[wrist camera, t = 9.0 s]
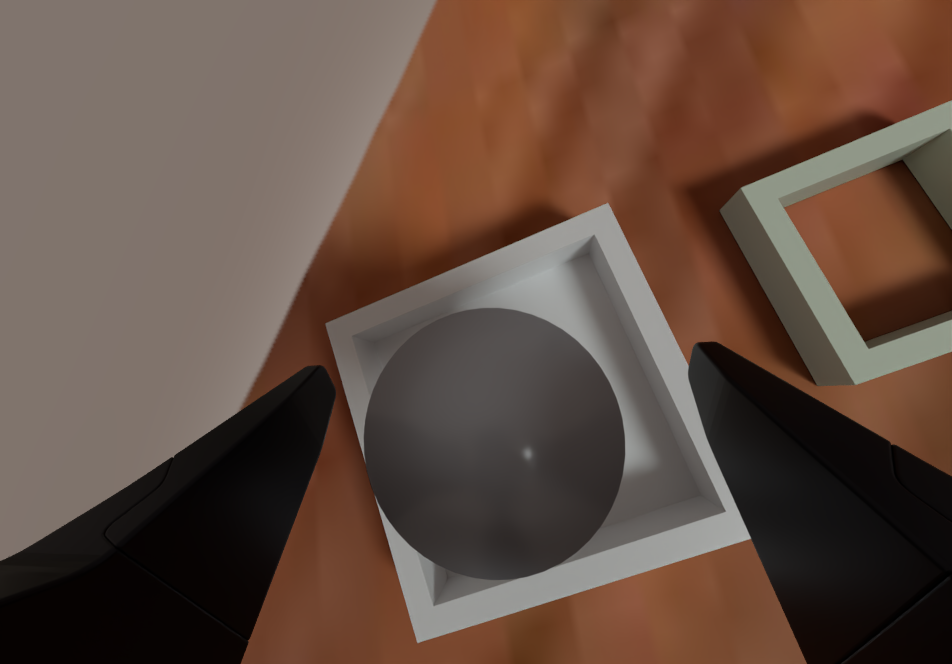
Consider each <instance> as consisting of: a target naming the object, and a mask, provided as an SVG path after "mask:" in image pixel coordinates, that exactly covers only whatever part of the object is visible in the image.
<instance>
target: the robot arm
mask: <svg viewBox="0 0 952 664" xmlns="http://www.w3.org/2000/svg"><path fill="white" fill-rule="evenodd" d="M688 379H689V383H690V386H691V389H692V393H693V396H694V399H695V402H696V406H697V409H698V412H699V416H700V419H701V422H702V425H703V429H704V432H705V435H706V438H707V441H708V443H709V445H710V448H711V450H712V452H713V455H714V457H715V459H716V461H717V464H718V466H719V468H720V470H721V473H722V475H723V477H724V479H725V482H726V484H727V486H728V488H729V490H730V493H731V495H732V497H733V499H734V502H735V504H736V506H737V508H738V511H739V513H740V515H741V517H742V519H743V522H744V524H745V526H746V528H747V531H748V533H749V535H750V537H751V540H752V542H753V544H754V546H755V549H756V551H757V553H758V555H759V557H760V560H761V562H762V564H763V566H764V569H765V571H766V573H767V575H768V578H769V580H770V582H771V584H772V587H773V589H774V591H775V593H776V595H777V598H778V600H779V602H780V604H781V607H782V609H783V611H784V613H785V616H786V618H787V620H788V622H789V624H790V627H791V629H792V631H793V633H794V636H795V638H796V640H797V642H798V645H799V647H800V649H801V651H802V654H803V656H804V658H805V660H806V662H807V664H952V476H950V475H948V474H946V473H945V472H943V471H941V470H939V469H938V468H936V467H934V466H932V465H930V464H929V463H927V462H925V461H923V460H921V459H920V458H918V457H916V456H914V455H913V454H911V453H909V452H907V451H906V450H904V449H902V448H900V447H899V446H897V445H891V443H890V441H888V440H886V439H885V438H883V437H881V436H879V435H878V434H876V433H874V432H872V431H871V430H869V429H867V428H865V427H864V426H862V425H860V424H858V423H857V422H855V421H853V420H852V419H850V418H848V417H846V416H845V415H843V414H841V413H839V412H838V411H836V410H834V409H832V408H831V407H829V406H827V405H825V404H824V403H822V402H820V401H819V400H817V399H815V398H813V397H812V396H810V395H808V394H806V393H805V392H803V391H801V390H799V389H798V388H796V387H794V386H792V385H791V384H789V383H787V382H786V381H784V380H782V379H780V378H779V377H777V376H775V375H773V374H772V373H770V372H768V371H766V370H765V369H763V368H761V367H759V366H758V365H756V364H754V363H753V362H751V361H749V360H747V359H746V358H744V357H742V356H740V355H739V354H737V353H735V352H733V351H732V350H730V349H728V348H726V347H725V346H723V345H721V344H720V343H717V342H698V343H696V344H695V345H694V347H693V350H692V354H691V359H690V364H689V368H688ZM335 397H336V390H335V386H334V384H333V383H332V381H331V379H330V377H329V375H328V373H327V371H326V369H325V368H324V367H323V366H321V365H317V366H307V367H305V368H303V369H302V370H300V371H299V372H297V373H296V374H295V375H293V376H292V377H290V378H289V379H287V380H286V381H284V382H283V383H281V384H280V385H278V386H277V387H275V388H274V389H272V390H271V391H269V392H268V393H266V394H265V395H263V396H262V397H260V398H259V399H257V400H256V401H254V402H253V403H251V404H250V405H248V406H247V407H246V408H244V409H243V410H241V411H240V412H238V413H237V414H235V415H234V416H232V417H231V418H229V419H228V420H226V421H225V422H223V423H222V424H220V425H219V426H217V427H216V428H214V429H213V430H211V431H210V432H208V433H207V434H205V435H204V436H203V437H201V438H199V439H198V440H197V441H195V442H194V443H192V444H191V445H189V446H188V447H187V448H185V449H183V450H182V451H180V452H179V453H177V454H176V455H175V456H174V458H173V457H172V458H170V459H168V460H167V461H165V462H164V463H162V464H161V465H159V466H158V467H156V468H155V469H153V470H152V471H150V472H149V473H147V474H146V475H144V476H143V477H141V478H140V479H138V480H137V481H135V482H133V483H132V484H131V485H129V486H128V487H126V488H124V489H123V490H121V491H119V492H118V493H116V494H115V495H113V496H111V497H110V498H108V499H107V500H105V501H103V502H102V503H100V504H98V505H97V506H95V507H93V508H92V509H90V510H89V511H87V512H85V513H84V514H82V515H80V516H79V517H77V518H75V519H74V520H72V521H71V522H69V523H67V524H66V525H64V526H62V527H61V528H59V529H57V530H56V531H54V532H52V533H51V534H49V535H48V536H46V537H44V538H43V539H41V540H39V541H38V542H36V543H34V544H33V545H31V546H29V547H28V548H26V549H24V550H23V551H21V552H19V553H17V554H15V555H13V556H11V557H8V558H6V559H4V560H2V561H0V664H241V661H242V659H243V656H244V653H245V651H246V648H247V645H248V643H249V642H248V640H249V639H250V637H251V634H252V632H253V629H254V626H255V624H256V621H257V618H258V616H259V613H260V611H261V608H262V605H263V603H264V600H265V597H266V595H267V592H268V589H269V587H270V584H271V582H272V579H273V576H274V574H275V571H276V568H277V566H278V563H279V561H280V558H281V555H282V553H283V550H284V547H285V545H286V542H287V539H288V537H289V534H290V532H291V529H292V526H293V524H294V521H295V518H296V516H297V513H298V510H299V508H300V505H301V503H302V500H303V497H304V495H305V492H306V489H307V487H308V484H309V481H310V479H311V476H312V474H313V471H314V468H315V466H316V463H317V460H318V458H319V455H320V452H321V449H322V446H323V443H324V439H325V436H326V432H327V428H328V424H329V420H330V416H331V413H332V409H333V405H334V401H335Z"/></svg>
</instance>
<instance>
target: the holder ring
mask: <svg viewBox="0 0 952 664" xmlns="http://www.w3.org/2000/svg"><path fill="white" fill-rule="evenodd" d="M900 160H903V161H904V162H905V164H906V165H907V166H908V168H909V169H910V171H911V172H912V174H913V175H914V176H915V178H916V179H917V181H918V182H919V184H920V185H921V186H922V188H923V189H924V191H925V192H926V194H927V195H928V197H929V198H930V199H931V201H932V202H933V204H934V205H935V207H936V208H937V209H938V211H939V212H940V214H941V215H942V217H943V218H944V219H945V221H946V222H947V224H948V225H949V227H950V228H951V229H952V101H949V102H947V103H945V104H942V105H940V106H937V107H935V108H932V109H930V110H928V111H925V112H923V113H920V114H918V115H916V116H913V117H911V118H908V119H906V120H903V121H901V122H899V123H896V124H894V125H891V126H889V127H887V128H884V129H882V130H879V131H877V132H875V133H872V134H870V135H867V136H865V137H862V138H860V139H858V140H855V141H853V142H850V143H848V144H846V145H843V146H841V147H838V148H836V149H833V150H831V151H829V152H826V153H824V154H821V155H819V156H817V157H814V158H812V159H809V160H807V161H805V162H802V163H800V164H797V165H795V166H792V167H790V168H788V169H785V170H783V171H780V172H778V173H776V174H773V175H771V176H768V177H766V178H763V179H761V180H759V181H756V182H754V183H751V184H749V185H747V186H744V187H742V188H740V189H739V190H738V191H737V192H736V193H735V194H734V196H733V197H732V198H731V199H730V200H729V201H728V202H727V203H726V204H725V205H724V206H723V207H722V208H721V209H720V210H719V211H720V213H721V215H722V216H723V218H724V220H725V222H726V224H727V225H728V227H729V229H730V231H731V233H732V234H733V236H734V238H735V240H736V241H737V243H738V245H739V247H740V249H741V250H742V252H743V254H744V256H745V258H746V259H747V261H748V263H749V265H750V266H751V268H752V270H753V272H754V274H755V275H756V277H757V279H758V281H759V283H760V284H761V286H762V288H763V290H764V291H765V293H766V295H767V297H768V299H769V300H770V302H771V304H772V306H773V308H774V309H775V311H776V313H777V315H778V316H779V318H780V320H781V322H782V324H783V325H784V327H785V329H786V331H787V332H788V334H789V336H790V338H791V340H792V341H793V343H794V345H795V347H796V349H797V350H798V352H799V354H800V356H801V357H802V359H803V361H804V363H805V365H806V366H807V368H808V370H809V372H810V374H811V375H812V377H813V379H814V381H815V382H816V384H817V386H833V385H857V384H860V383H862V382H865V381H868V380H871V379H874V378H877V377H880V376H883V375H885V374H888V373H891V372H894V371H897V370H900V369H903V368H906V367H909V366H911V365H914V364H917V363H920V362H923V361H926V360H929V359H932V358H935V357H937V356H940V355H943V354H946V353H949V352H952V311H949V312H947V313H944V314H941V315H938V316H936V317H933V318H930V319H927V320H924V321H922V322H919V323H916V324H913V325H910V326H908V327H905V328H902V329H899V330H896V331H894V332H891V333H888V334H885V335H882V336H880V337H877V338H874V339H871V340H868V341H866V342H864V341H863V339H862V338H861V336H860V334H859V333H858V331H857V329H856V328H855V326H854V324H853V323H852V321H851V319H850V318H849V316H848V314H847V313H846V311H845V309H844V308H843V306H842V304H841V303H840V301H839V299H838V298H837V296H836V294H835V293H834V291H833V289H832V288H831V286H830V284H829V283H828V281H827V279H826V278H825V276H824V274H823V273H822V271H821V269H820V268H819V266H818V264H817V263H816V261H815V259H814V258H813V256H812V254H811V253H810V251H809V249H808V248H807V246H806V244H805V243H804V241H803V240H802V238H801V236H800V235H799V233H798V231H797V230H796V228H795V226H794V225H793V223H792V221H791V220H790V218H789V216H788V215H787V213H786V211H785V210H784V207H786V206H789V205H791V204H794V203H796V202H799V201H801V200H804V199H806V198H809V197H811V196H814V195H816V194H819V193H821V192H823V191H826V190H828V189H831V188H833V187H836V186H838V185H841V184H843V183H846V182H848V181H851V180H853V179H856V178H858V177H861V176H863V175H866V174H868V173H871V172H873V171H875V170H878V169H880V168H883V167H885V166H888V165H890V164H893V163H895V162H898V161H900Z"/></svg>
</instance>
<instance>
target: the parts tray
mask: <svg viewBox="0 0 952 664" xmlns="http://www.w3.org/2000/svg"><path fill="white" fill-rule="evenodd" d="M478 308H504V309H511V310H517V311H521V312H525V313H528V314H532V315H534V316H537V317H539V318H542V319H544V320H547V321H549V322H550V323H552V324H554V325H556V326H557V327H559V328H561V329H563V330H564V331H565V332H567V333H568V334H569V335H571V336H572V337H573V338H574V339H576V340H577V341H578V342H579V343H580V344H581V345H582V346H583V347H584V348H585V349H586V350H587V351H588V352H589V353H590V354H591V355H592V357H593V358H594V359H595V361H596V362H597V363H598V364H599V366H600V367H601V369H602V370H603V372H604V374H605V375H606V377H607V379H608V380H609V382H610V384H611V387H612V389H613V391H614V393H615V396H616V398H617V401H618V404H619V408H620V411H621V415H622V419H623V426H624V433H625V462H624V470H623V476H622V480H621V484H620V487H619V491H618V494H617V496H616V499H615V501H614V504H613V506H612V508H611V510H610V512H609V514H608V516H607V517H606V519H605V521H604V522H603V524H602V526H601V527H600V528H599V529H598V531H597V532H596V533H595V534H594V536H593V537H592V538H591V539H590V541H588V542H587V543H586V544H585V545H584V546H583V547H582V548H581V549H580V550H579V551H578V552H577V553H575V554H574V555H572V556H571V557H569V558H568V559H567V560H565V561H564V562H562V563H561V564H559V565H557V566H555V567H553V568H550V569H548V570H546V571H544V572H541V573H538V574H535V575H532V576H528V577H524V578H518V579H511V580H486V579H478V578H472V577H468V576H465V575H461V574H457V573H454V572H452V571H450V570H447V569H445V568H443V567H441V566H438V565H437V564H435V563H433V562H432V561H430V560H428V559H427V558H425V557H424V556H422V555H421V554H420V553H419V552H417V551H416V550H415V549H414V548H412V547H411V546H410V545H409V544H408V543H407V542H406V541H405V540H404V539H403V538H402V537H401V536H400V535H399V534H398V533H397V531H396V530H395V529H394V527H393V526H392V525H391V523H390V522H389V521H388V519H387V518H386V516H385V514H384V513H383V511H382V509H381V507H380V506H379V504H378V502H377V504H378V508H379V511H380V515H381V518H382V522H383V525H384V529H385V532H386V536H387V539H388V543H389V546H390V549H391V553H392V556H393V560H394V563H395V567H396V570H397V574H398V577H399V581H400V584H401V587H402V591H403V594H404V598H405V601H406V605H407V608H408V612H409V615H410V619H411V622H412V625H413V629H414V632H415V636H416V639H417V643H419V642H422V641H425V640H429V639H432V638H435V637H438V636H441V635H445V634H448V633H451V632H454V631H457V630H461V629H464V628H467V627H470V626H473V625H477V624H480V623H483V622H486V621H489V620H492V619H496V618H499V617H502V616H505V615H508V614H512V613H515V612H518V611H521V610H524V609H528V608H531V607H534V606H537V605H540V604H544V603H547V602H550V601H553V600H556V599H560V598H563V597H566V596H569V595H572V594H576V593H579V592H582V591H585V590H588V589H591V588H595V587H598V586H601V585H604V584H607V583H611V582H614V581H617V580H620V579H623V578H627V577H630V576H633V575H636V574H639V573H643V572H646V571H649V570H652V569H655V568H659V567H662V566H665V565H668V564H671V563H674V562H678V561H681V560H684V559H687V558H690V557H694V556H697V555H700V554H703V553H706V552H710V551H713V550H716V549H719V548H722V547H726V546H729V545H732V544H735V543H738V542H742V541H745V540H748V539H751V537H750V535H749V533H748V531H747V528H746V526H745V524H744V522H743V519H742V517H741V515H740V513H739V511H738V508H737V506H736V504H735V502H734V499H733V497H732V495H731V493H730V490H729V488H728V486H727V484H726V482H725V479H724V477H723V475H722V473H721V470H720V468H719V466H718V464H717V461H716V459H715V457H714V455H713V452H712V450H711V448H710V445H709V443H708V441H707V438H706V435H705V432H704V429H703V425H702V422H701V419H700V416H699V412H698V409H697V406H696V402H695V399H694V396H693V393H692V389H691V386H690V383H689V379H688V368H689V366H688V364H687V362H686V360H685V358H684V356H683V354H682V352H681V350H680V348H679V346H678V344H677V342H676V340H675V338H674V336H673V334H672V332H671V330H670V328H669V326H668V324H667V322H666V320H665V318H664V316H663V314H662V311H661V309H660V307H659V305H658V303H657V301H656V299H655V297H654V295H653V293H652V291H651V289H650V287H649V285H648V283H647V281H646V279H645V277H644V275H643V273H642V271H641V269H640V267H639V265H638V263H637V261H636V259H635V257H634V255H633V253H632V250H631V248H630V246H629V244H628V242H627V240H626V238H625V236H624V234H623V232H622V230H621V228H620V226H619V224H618V222H617V220H616V218H615V216H614V214H613V212H612V210H611V208H610V206H609V204H608V203H607V204H604V205H602V206H600V207H597V208H595V209H593V210H590V211H588V212H586V213H583V214H581V215H579V216H576V217H574V218H572V219H569V220H567V221H564V222H562V223H560V224H557V225H555V226H553V227H550V228H548V229H546V230H543V231H541V232H539V233H536V234H534V235H532V236H529V237H527V238H525V239H522V240H520V241H518V242H515V243H513V244H511V245H508V246H506V247H503V248H501V249H499V250H496V251H494V252H492V253H489V254H487V255H485V256H482V257H480V258H478V259H475V260H473V261H471V262H468V263H466V264H464V265H461V266H459V267H457V268H454V269H452V270H449V271H447V272H445V273H442V274H440V275H438V276H435V277H433V278H431V279H428V280H426V281H424V282H421V283H419V284H417V285H414V286H412V287H410V288H407V289H405V290H403V291H400V292H398V293H396V294H393V295H391V296H388V297H386V298H384V299H381V300H379V301H377V302H374V303H372V304H370V305H367V306H365V307H363V308H360V309H358V310H356V311H353V312H351V313H349V314H346V315H344V316H342V317H339V318H337V319H335V320H332V321H330V322H327V323H325V325H326V328H327V332H328V335H329V339H330V342H331V345H332V349H333V352H334V356H335V359H336V363H337V366H338V370H339V373H340V377H341V380H342V383H343V387H344V390H345V394H346V397H347V401H348V404H349V408H350V411H351V415H352V418H353V422H354V425H355V428H356V432H357V435H358V439H359V442H360V446H361V449H362V453H363V456H364V426H365V418H366V413H367V408H368V404H369V401H370V398H371V394H372V391H373V389H374V386H375V384H376V382H377V380H378V378H379V376H380V374H381V372H382V371H383V369H384V367H385V366H386V364H387V363H388V361H389V360H390V358H391V357H392V356H393V355H394V354H395V352H396V351H397V350H398V349H399V348H400V347H401V346H402V345H403V344H404V343H405V342H406V341H407V340H408V339H409V338H410V337H411V336H413V335H414V334H415V333H417V332H418V331H419V330H421V329H422V328H424V327H425V326H427V325H429V324H431V323H432V322H434V321H436V320H438V319H441V318H443V317H445V316H448V315H450V314H454V313H457V312H461V311H465V310H471V309H478ZM364 460H365V456H364ZM365 463H366V462H365ZM375 498H376V497H375ZM376 501H377V499H376Z"/></svg>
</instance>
